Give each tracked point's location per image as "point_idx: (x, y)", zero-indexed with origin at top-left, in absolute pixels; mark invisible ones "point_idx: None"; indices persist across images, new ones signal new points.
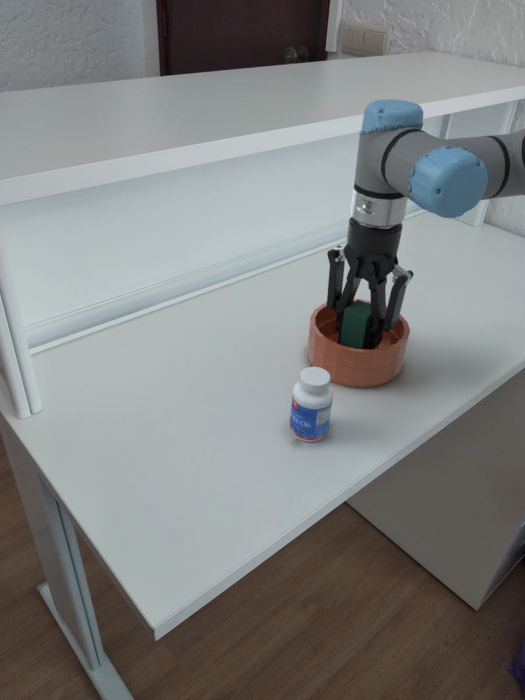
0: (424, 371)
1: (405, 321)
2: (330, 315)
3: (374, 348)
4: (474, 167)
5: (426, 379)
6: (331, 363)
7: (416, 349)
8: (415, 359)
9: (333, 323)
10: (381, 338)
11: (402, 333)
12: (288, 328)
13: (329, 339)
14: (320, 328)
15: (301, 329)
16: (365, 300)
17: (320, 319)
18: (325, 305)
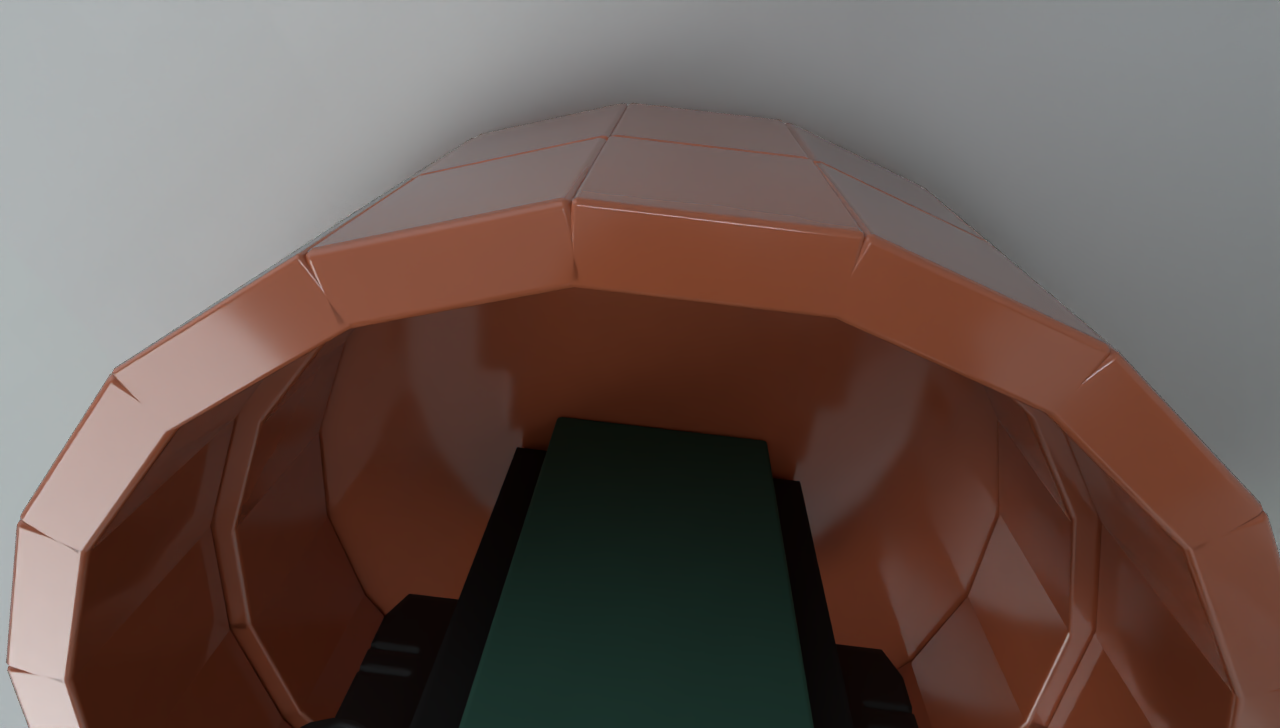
0: (1250, 338)
1: (1228, 515)
2: (193, 504)
3: (811, 546)
4: None
5: (1271, 428)
6: None
7: (1145, 24)
8: (1151, 211)
9: (279, 422)
10: (911, 722)
11: (1143, 547)
12: (12, 400)
13: (369, 432)
14: (261, 591)
15: (87, 356)
16: (361, 269)
17: (187, 642)
18: (57, 685)
